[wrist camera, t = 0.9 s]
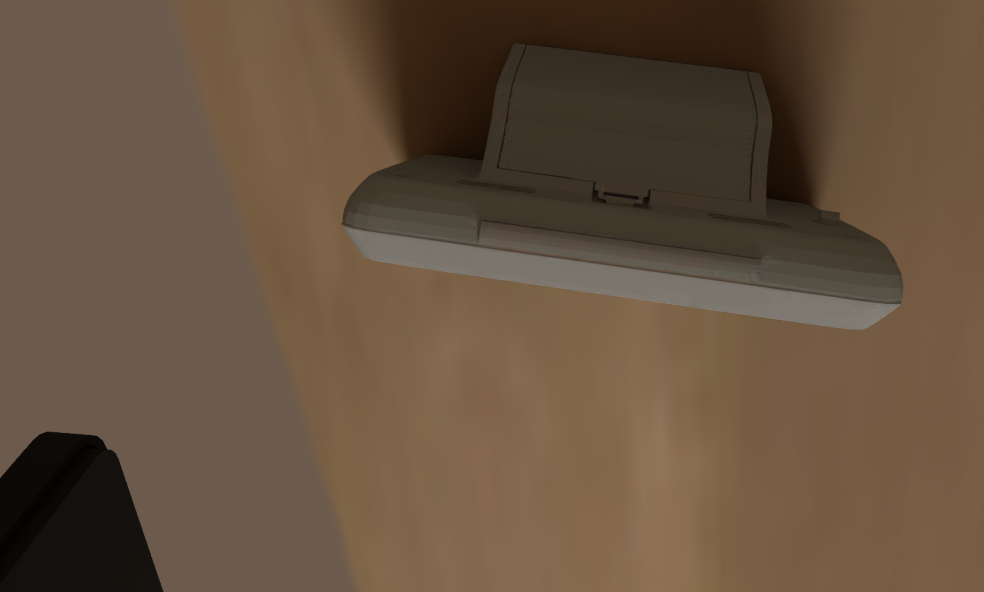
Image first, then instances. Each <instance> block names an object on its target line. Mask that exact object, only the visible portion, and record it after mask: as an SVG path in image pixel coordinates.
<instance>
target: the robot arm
mask: <svg viewBox="0 0 984 592" xmlns="http://www.w3.org/2000/svg"><path fill="white" fill-rule="evenodd" d="M0 592H163V589H162V587H161V583H160V581H159V578H158V575H157V572H156V569H155V566H154V563H153V560H152V557H151V554H150V551H149V548H148V545H147V542H146V539H145V536H144V533H143V530H142V527H141V524H140V521H139V519H138V516H137V512H136V509H135V507H134V503H133V501H132V497H131V495H130V492H129V489H128V486H127V483H126V480H125V477H124V474H123V471H122V468H121V465H120V462H119V459H118V457H117V455H116V453H115V452H113V451H112V450H107V448H106V446H105V444H104V442H103V440H101V439H100V438H99V437H98V436H93V435H83V434H71V433H59V432H45V433H42V434H40V435H39V436H37V437H36V438H35V439H34V440H33V441H32V442H31V443H30V444H29V445H28V447H27V448H26V449H25V450H24V451H23V452H22V453H21V455H20V456H19V457H18V458H17V459H16V460H15V462H14V463H13V464H12V465H11V466H10V467H9V469H8V470H7V471H6V472H5V473H4V474H3V476H2V477H1V478H0Z"/></svg>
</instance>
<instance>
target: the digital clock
mask: <svg viewBox="0 0 984 592" xmlns="http://www.w3.org/2000/svg"><path fill="white" fill-rule="evenodd" d="M771 134H772V114H771V108H770V104H769V101H768V97H767V94H766V91H765V87H764V84H763V81H762V77H761V74H760V73H756V72H748V71H740V70H732V69H723V68H715V67H707V66H699V65H691V64H683V63H674V62H666V61H658V60H650V59H642V58H634V57H625V56H617V55H609V54H601V53H593V52H584V51H576V50H568V49H560V48H552V47H544V46H535V45H527V46H526V44H519V43H515V44H513V46H512V48H511V51H510V53H509V56H508V58H507V60H506V63H505V65H504V68H503V70H502V72H501V75H500V78H499V81H498V83H497V87H496V91H495V97H494V104H493V111H492V118H491V124H490V129H489V134H488V139H487V144H486V149H485V154H484V159H483V161H482V160H474V159H467V158H459V157H451V156H443V155H423V156H420V157H417V158H414V159H411V160H408V161H405V162H402V163H399V164H396V165H394V166H391V167H388V168H385V169H382V170H380V171H377V172H375V173H373V174H371V175H369V176H368V177H367V178H366V179H365V180H364V181H363V182H362V183H361V184H360V185H359V186H358V187H357V189H356V190H355V191H354V192H353V193H352V195H351V196H350V197H349V200H348V202H347V204H346V206H345V209H344V214H343V222H342V226H343V228H344V229H345V231H346V232H347V234H348V235H349V237H350V238H351V240H352V241H353V243H354V244H355V245H356V247H357V248H358V249H359V251H360V252H361V253H362V255H363V256H364V257H366V258H368V259H371V260H374V261H379V262H385V263H391V264H398V265H404V266H411V267H418V268H424V269H431V270H437V271H444V272H451V273H458V274H465V275H472V276H479V277H486V278H493V279H500V280H507V281H514V282H521V283H528V284H535V285H542V286H549V287H556V288H563V289H570V290H576V291H583V292H590V293H597V294H604V295H611V296H618V297H625V298H632V299H639V300H646V301H653V302H660V303H667V304H674V305H681V306H688V307H695V308H702V309H709V310H716V311H723V312H730V313H737V314H744V315H750V316H757V317H764V318H771V319H778V320H785V321H792V322H800V323H807V324H815V325H822V326H829V327H837V328H844V329H855V330H863V329H866V328H868V327H870V326H871V325H873V324H874V323H876V322H877V321H879V320H880V319H882V318H883V317H885V316H886V315H887V314H889V313H890V312H891V311H893V310H894V309H895V308H897V307H898V306H900V304H901V300H902V297H903V282H902V275H901V272H900V270H899V268H898V265H897V263H896V261H895V259H894V257H893V256H892V254H891V253H890V251H889V249H888V248H887V246H886V245H884V244H883V243H882V242H881V241H880V240H878V239H876V238H874V237H873V236H871V235H869V234H867V233H865V232H863V231H861V230H859V229H857V228H855V227H853V226H851V225H849V224H847V223H845V222H843V221H841V220H839V217H840V213H839V212H831V211H824V210H820V209H818V208H815V207H813V206H810V205H806V204H801V203H795V202H789V201H781V200H774V199H767V198H766V186H767V169H768V153H769V147H770V140H771ZM501 185H503V186H501ZM506 186H510V187H506ZM502 187H506V188H502ZM513 187H517V188H513ZM500 188H501V189H500ZM509 188H513V189H509ZM521 188H525V189H521ZM505 189H509V190H505ZM516 189H521V190H516ZM528 189H532V190H528ZM512 190H516V191H512ZM524 190H528V191H524ZM519 191H524V192H519ZM531 191H535V192H531ZM527 192H531V193H527ZM707 213H710V214H707ZM713 214H717V215H713ZM709 215H713V216H709ZM720 215H724V216H720ZM716 216H720V217H716ZM712 217H715V218H712ZM723 217H725V218H723ZM718 218H723V219H718Z"/></svg>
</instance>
